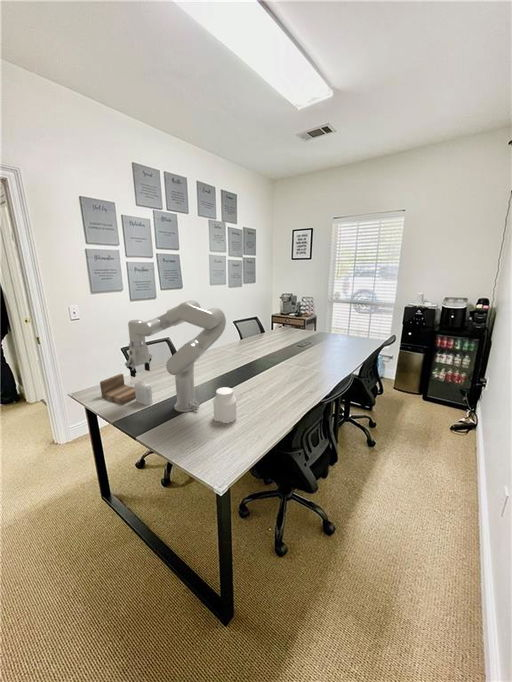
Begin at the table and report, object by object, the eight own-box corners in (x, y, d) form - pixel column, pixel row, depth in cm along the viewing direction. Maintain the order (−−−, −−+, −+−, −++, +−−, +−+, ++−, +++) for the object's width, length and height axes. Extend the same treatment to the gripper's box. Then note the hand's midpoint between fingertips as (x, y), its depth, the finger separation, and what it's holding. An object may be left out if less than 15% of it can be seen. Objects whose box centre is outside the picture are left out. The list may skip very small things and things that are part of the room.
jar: (210, 419, 140) (209, 392, 136) (221, 410, 149) (220, 384, 145) (229, 425, 135) (229, 397, 131) (239, 416, 143) (239, 389, 140)
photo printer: (153, 403, 156) (151, 382, 153) (147, 406, 152) (145, 385, 149) (141, 398, 161) (139, 379, 158) (135, 401, 157) (132, 381, 154)
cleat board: (143, 394, 166) (142, 379, 163) (123, 404, 154) (121, 388, 151) (122, 388, 174) (120, 373, 171) (102, 397, 162) (99, 381, 159)
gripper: (129, 348, 138) (132, 380, 143) (155, 340, 153) (157, 369, 158) (118, 346, 142) (122, 377, 146) (145, 338, 157) (147, 367, 161)
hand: (140, 373), depth 152 cm, fingers open, 9 cm apart
